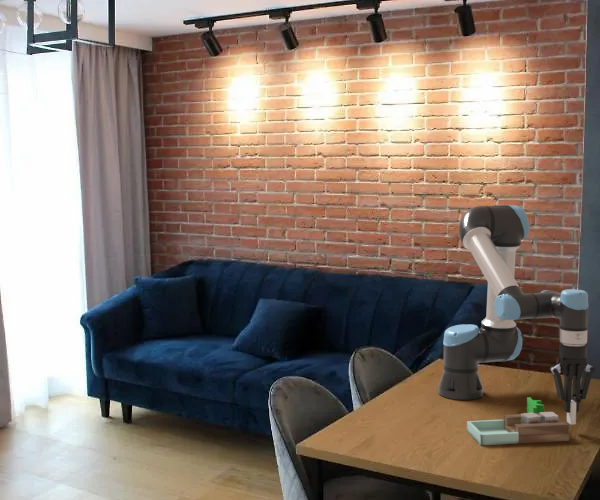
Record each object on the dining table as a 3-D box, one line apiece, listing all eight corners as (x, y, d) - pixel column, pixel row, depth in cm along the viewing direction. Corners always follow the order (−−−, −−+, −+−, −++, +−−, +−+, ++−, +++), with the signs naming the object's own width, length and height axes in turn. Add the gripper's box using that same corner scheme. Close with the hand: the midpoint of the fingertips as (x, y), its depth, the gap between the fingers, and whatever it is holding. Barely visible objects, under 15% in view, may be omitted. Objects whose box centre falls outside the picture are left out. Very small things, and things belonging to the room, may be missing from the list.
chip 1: (520, 427, 227) (520, 413, 227) (532, 425, 228) (532, 412, 228) (528, 431, 223) (528, 417, 223) (540, 429, 224) (540, 416, 224)
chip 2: (539, 425, 228) (539, 412, 228) (552, 424, 229) (552, 411, 228) (544, 430, 224) (545, 416, 224) (558, 429, 225) (558, 416, 224)
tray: (466, 431, 230) (466, 421, 230) (502, 429, 231) (502, 419, 231) (480, 445, 218) (480, 434, 218) (518, 443, 219) (518, 433, 219)
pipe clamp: (545, 422, 237) (545, 408, 237) (533, 422, 238) (533, 407, 237) (538, 411, 248) (539, 397, 248) (526, 410, 249) (527, 396, 248)
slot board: (502, 429, 231) (503, 414, 231) (551, 426, 233) (551, 412, 232) (518, 443, 219) (518, 427, 219) (569, 440, 221) (569, 425, 221)
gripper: (557, 347, 220) (555, 428, 223) (601, 345, 222) (598, 426, 224) (546, 341, 228) (544, 419, 230) (588, 339, 229) (586, 417, 232)
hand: (571, 422), depth 227 cm, fingers closed
